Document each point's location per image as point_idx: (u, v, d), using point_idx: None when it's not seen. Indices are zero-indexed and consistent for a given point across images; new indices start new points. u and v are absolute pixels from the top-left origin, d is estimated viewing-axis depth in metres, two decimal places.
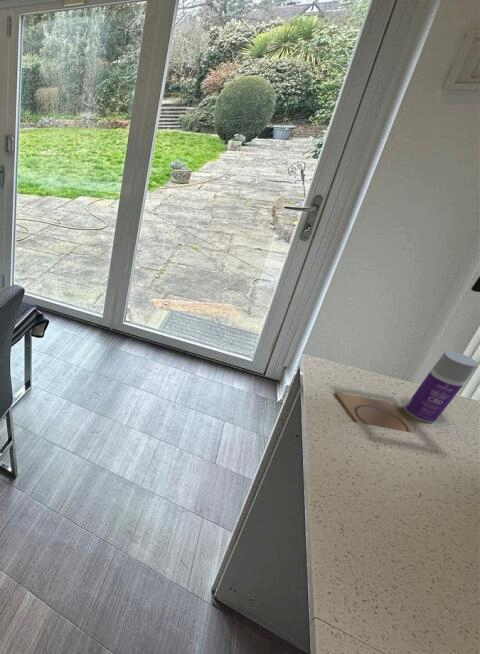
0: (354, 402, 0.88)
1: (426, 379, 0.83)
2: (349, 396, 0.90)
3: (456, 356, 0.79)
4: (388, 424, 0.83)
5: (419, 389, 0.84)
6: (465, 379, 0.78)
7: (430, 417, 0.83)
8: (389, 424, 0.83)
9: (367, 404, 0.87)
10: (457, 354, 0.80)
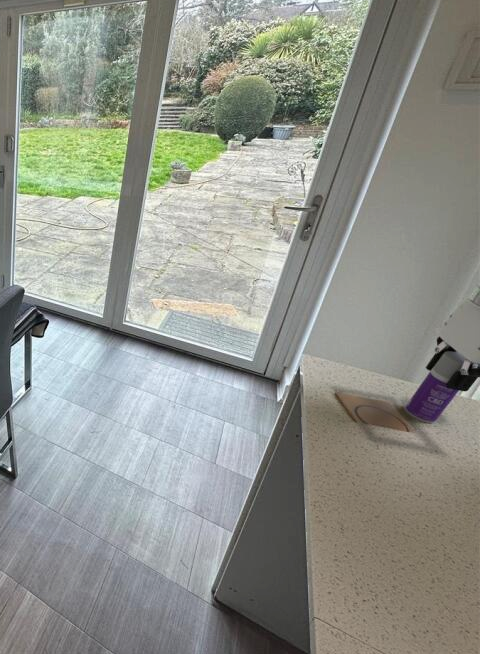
0: (354, 402, 0.88)
1: (426, 379, 0.83)
2: (349, 396, 0.90)
3: (456, 356, 0.79)
4: (388, 424, 0.83)
5: (419, 389, 0.84)
6: None
7: (430, 417, 0.83)
8: (389, 424, 0.83)
9: (367, 404, 0.87)
10: (457, 354, 0.80)
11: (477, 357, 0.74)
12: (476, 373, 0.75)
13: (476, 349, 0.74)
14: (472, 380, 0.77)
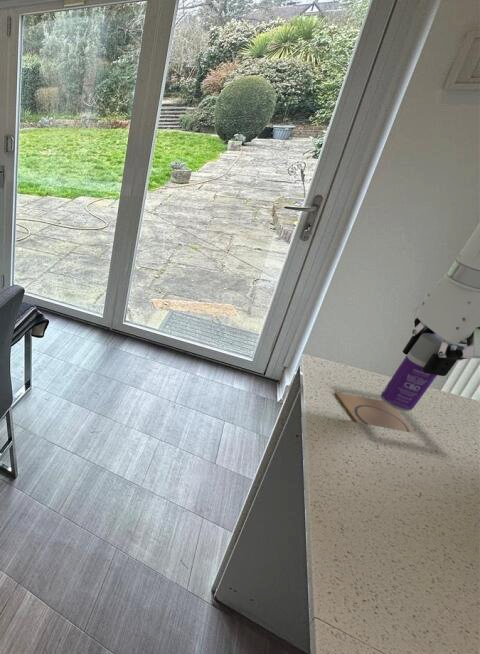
0: (354, 402, 0.88)
1: (402, 363, 0.77)
2: (349, 396, 0.90)
3: (434, 338, 0.73)
4: (388, 424, 0.83)
5: (395, 374, 0.78)
6: None
7: (406, 404, 0.77)
8: (389, 424, 0.83)
9: (367, 404, 0.87)
10: (435, 336, 0.74)
11: (455, 338, 0.68)
12: (454, 355, 0.69)
13: (454, 329, 0.68)
14: (450, 363, 0.71)
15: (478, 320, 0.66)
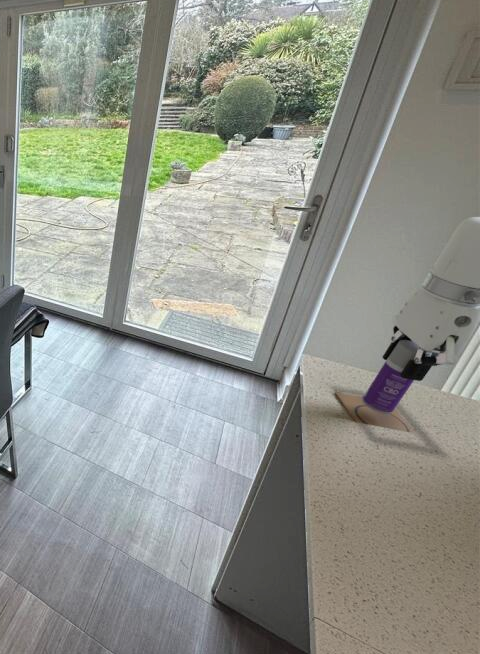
0: (354, 402, 0.88)
1: (382, 369, 0.81)
2: (349, 396, 0.90)
3: (410, 345, 0.77)
4: (388, 424, 0.83)
5: (375, 379, 0.82)
6: None
7: (386, 408, 0.81)
8: (389, 424, 0.83)
9: None
10: (412, 343, 0.78)
11: (429, 345, 0.72)
12: (429, 361, 0.73)
13: (428, 337, 0.72)
14: (426, 369, 0.75)
15: (450, 329, 0.70)
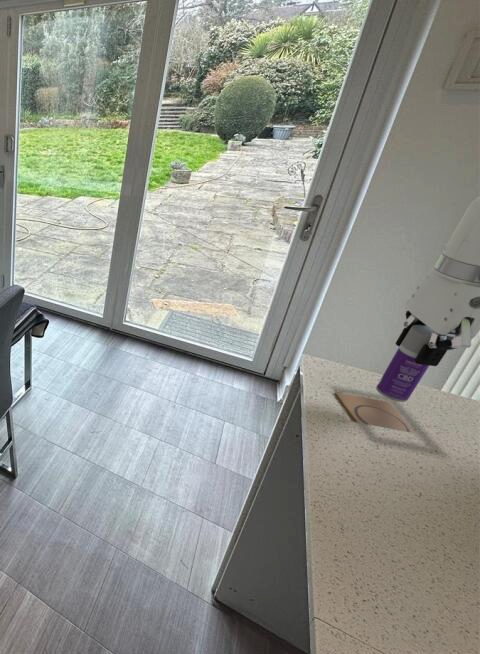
0: (354, 402, 0.88)
1: (395, 355, 0.79)
2: (349, 396, 0.90)
3: (424, 329, 0.76)
4: (388, 424, 0.83)
5: (389, 366, 0.80)
6: None
7: (401, 395, 0.79)
8: (389, 424, 0.83)
9: (367, 404, 0.87)
10: (425, 327, 0.76)
11: (443, 329, 0.70)
12: (444, 345, 0.71)
13: (442, 320, 0.70)
14: (441, 353, 0.73)
15: (465, 310, 0.68)
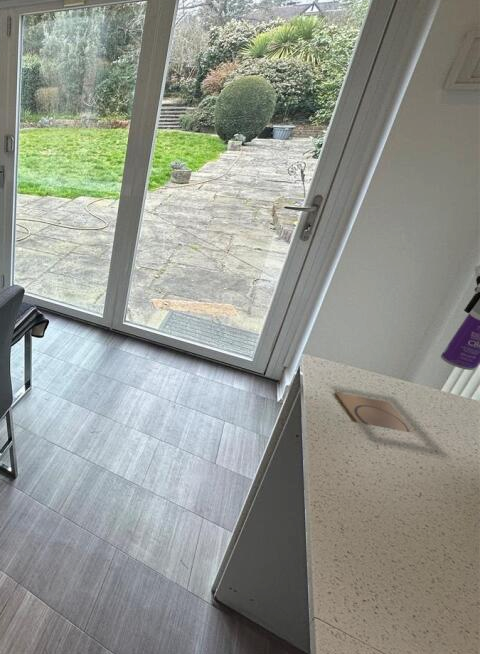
0: (354, 402, 0.88)
1: (465, 322, 0.76)
2: (349, 396, 0.90)
3: None
4: (388, 424, 0.83)
5: (457, 333, 0.78)
6: None
7: (470, 363, 0.77)
8: (389, 424, 0.83)
9: (367, 404, 0.87)
10: None
11: None
12: None
13: None
14: None
15: None
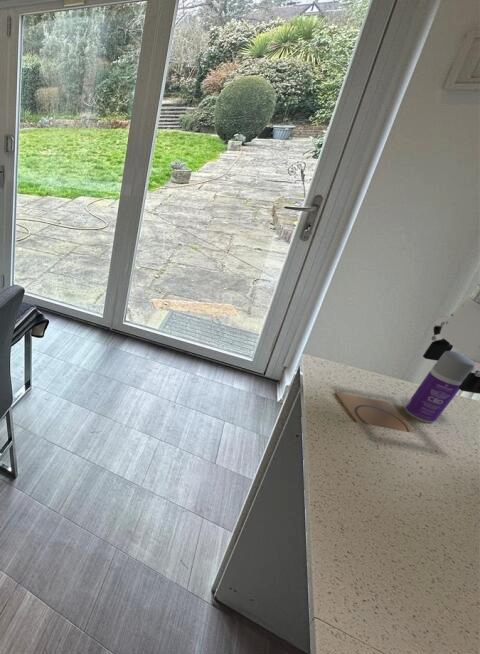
0: (354, 402, 0.88)
1: (426, 379, 0.83)
2: (349, 396, 0.90)
3: (456, 356, 0.80)
4: (388, 424, 0.83)
5: (419, 389, 0.84)
6: None
7: (430, 417, 0.83)
8: (389, 424, 0.83)
9: (367, 404, 0.87)
10: (457, 354, 0.80)
11: (478, 356, 0.74)
12: None
13: (478, 348, 0.74)
14: None
15: None
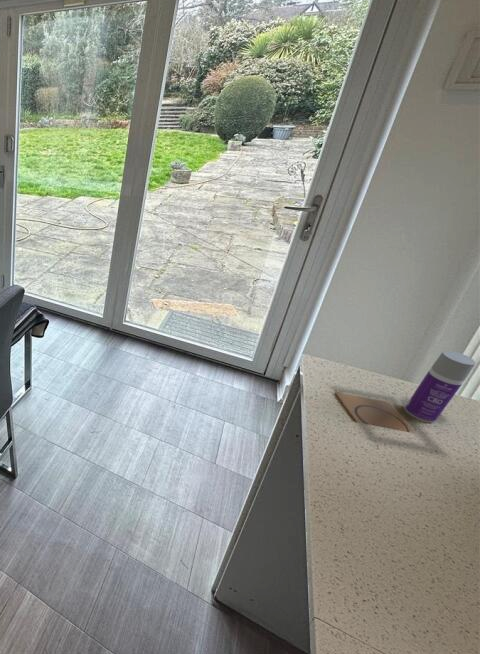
0: (354, 402, 0.88)
1: (425, 379, 0.83)
2: (349, 396, 0.90)
3: (454, 355, 0.80)
4: (388, 424, 0.83)
5: (418, 389, 0.84)
6: (464, 378, 0.79)
7: (430, 417, 0.83)
8: (389, 424, 0.83)
9: (367, 404, 0.87)
10: (455, 353, 0.80)
11: None
12: None
13: None
14: None
15: None
